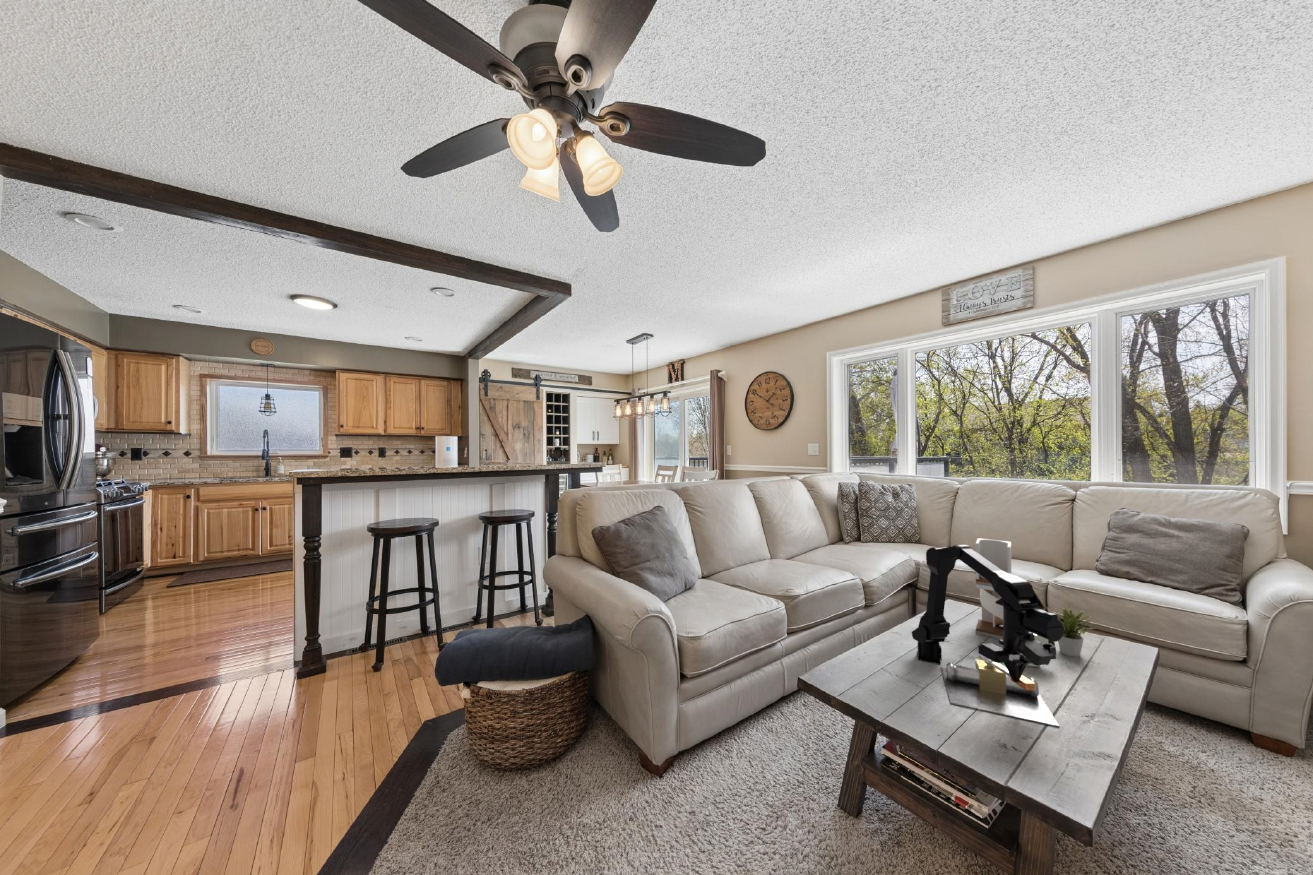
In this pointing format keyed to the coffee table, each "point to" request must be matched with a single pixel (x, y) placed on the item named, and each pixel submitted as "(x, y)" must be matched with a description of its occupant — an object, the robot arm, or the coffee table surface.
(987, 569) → the robot arm
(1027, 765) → the coffee table surface
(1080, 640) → the house plant
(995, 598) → the white shelf tower
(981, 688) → the pipe on metal plate
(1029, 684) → the valve lever
